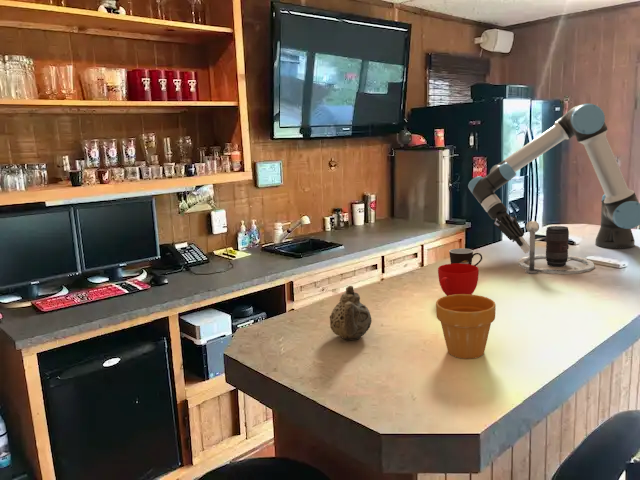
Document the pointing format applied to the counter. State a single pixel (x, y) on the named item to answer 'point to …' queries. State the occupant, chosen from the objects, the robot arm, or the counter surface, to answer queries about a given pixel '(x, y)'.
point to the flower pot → (465, 323)
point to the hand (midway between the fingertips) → (528, 251)
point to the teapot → (350, 316)
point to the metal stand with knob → (532, 245)
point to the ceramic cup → (458, 278)
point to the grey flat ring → (576, 270)
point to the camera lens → (557, 246)
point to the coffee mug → (462, 256)
